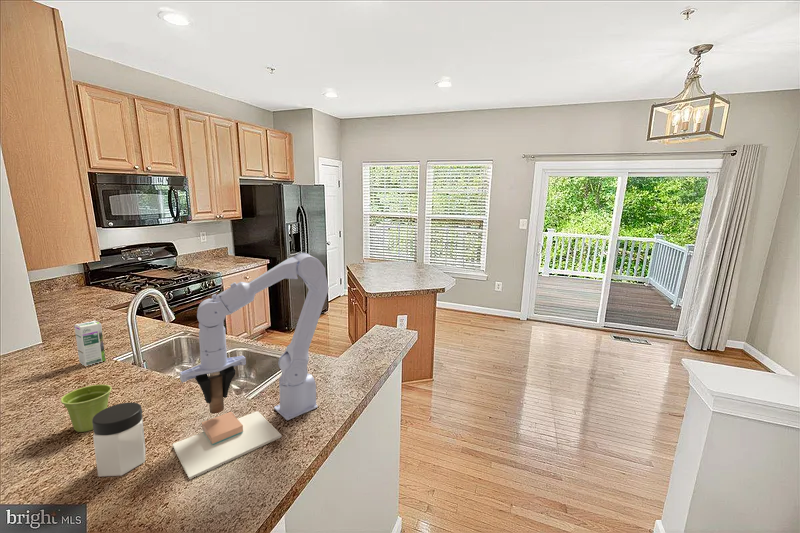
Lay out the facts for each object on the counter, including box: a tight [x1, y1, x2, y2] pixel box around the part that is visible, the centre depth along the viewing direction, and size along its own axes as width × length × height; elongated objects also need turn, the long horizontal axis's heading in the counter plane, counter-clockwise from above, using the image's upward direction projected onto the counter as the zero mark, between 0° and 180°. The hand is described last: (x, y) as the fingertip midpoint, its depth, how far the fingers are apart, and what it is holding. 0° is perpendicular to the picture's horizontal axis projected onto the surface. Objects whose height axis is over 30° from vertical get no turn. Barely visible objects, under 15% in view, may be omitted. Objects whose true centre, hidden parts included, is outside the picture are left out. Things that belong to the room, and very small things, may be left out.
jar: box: [92, 402, 147, 478], centre depth 73 cm, size 9×8×12 cm
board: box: [172, 410, 282, 480], centre depth 82 cm, size 20×14×1 cm
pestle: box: [208, 373, 225, 414], centre depth 86 cm, size 3×3×9 cm
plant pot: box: [60, 384, 113, 433], centre depth 86 cm, size 9×9×9 cm
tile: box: [201, 411, 243, 445], centre depth 85 cm, size 7×2×8 cm
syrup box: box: [74, 320, 107, 367], centre depth 120 cm, size 6×6×14 cm
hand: (216, 398), depth 86 cm, fingers closed on pestle, 3 cm apart
